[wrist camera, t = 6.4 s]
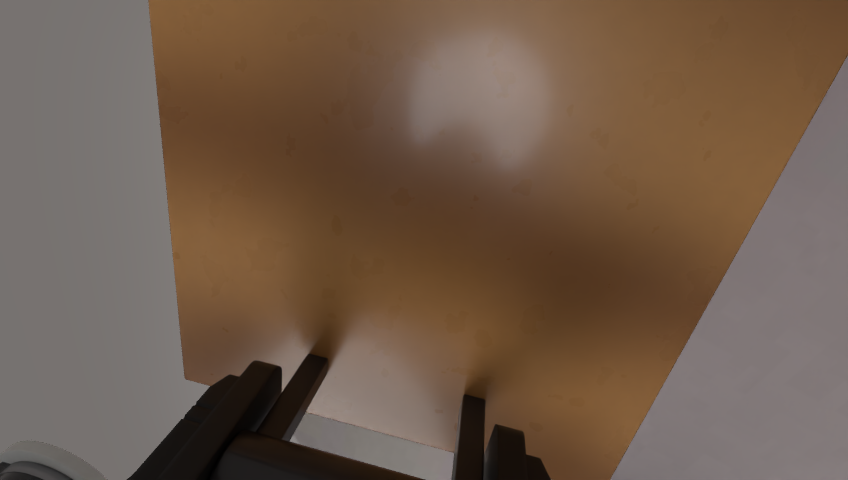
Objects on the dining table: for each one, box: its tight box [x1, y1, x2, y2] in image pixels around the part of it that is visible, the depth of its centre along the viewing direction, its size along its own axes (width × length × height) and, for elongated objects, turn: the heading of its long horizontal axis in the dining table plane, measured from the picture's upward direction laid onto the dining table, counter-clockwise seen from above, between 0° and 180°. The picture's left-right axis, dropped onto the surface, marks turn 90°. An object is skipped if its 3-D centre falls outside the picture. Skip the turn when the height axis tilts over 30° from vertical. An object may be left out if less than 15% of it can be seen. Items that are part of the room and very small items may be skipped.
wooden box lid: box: [148, 0, 848, 480], centre depth 8 cm, size 16×15×6 cm
